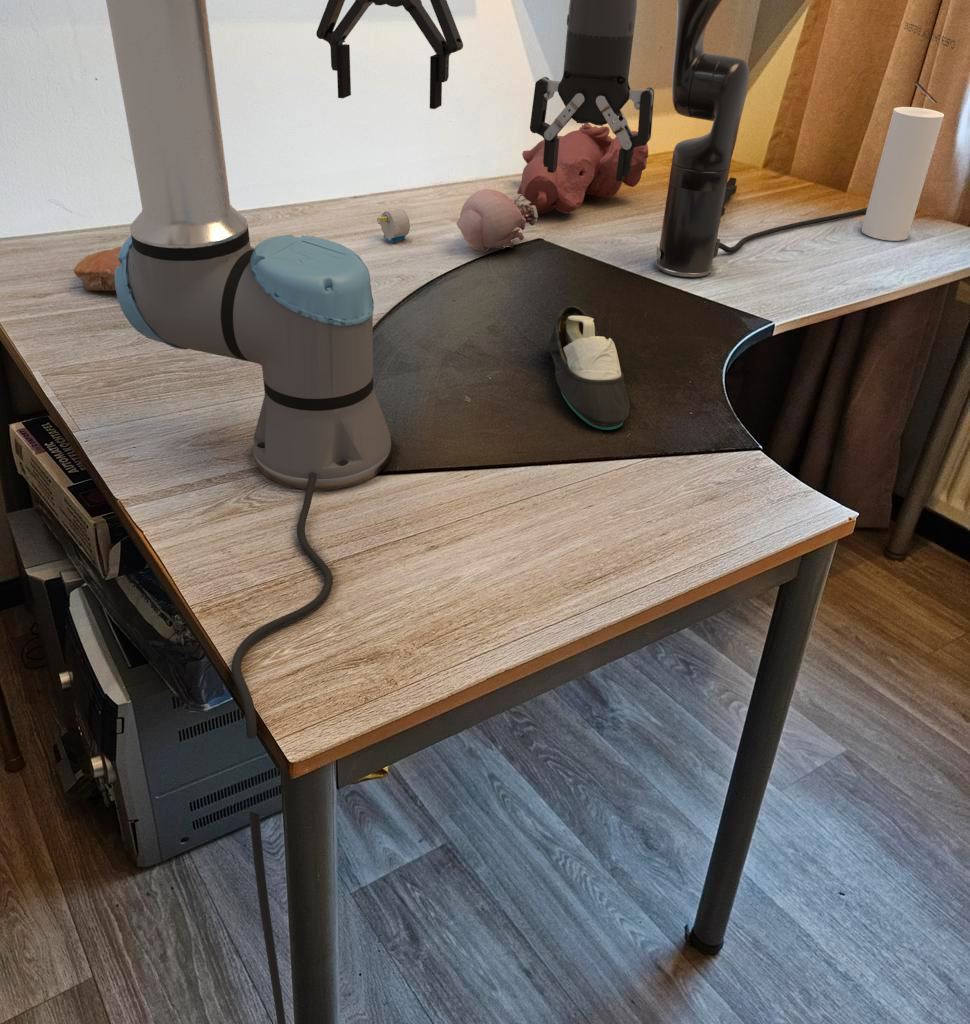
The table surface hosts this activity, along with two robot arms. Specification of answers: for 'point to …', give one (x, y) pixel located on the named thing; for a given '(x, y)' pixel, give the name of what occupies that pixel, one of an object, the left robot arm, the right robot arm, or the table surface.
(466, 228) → the toy
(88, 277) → the ceramic shard
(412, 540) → the table surface
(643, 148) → the reddish-brown lumpy piece
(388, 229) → the electric motor
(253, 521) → the table surface
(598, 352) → the ballet flat
